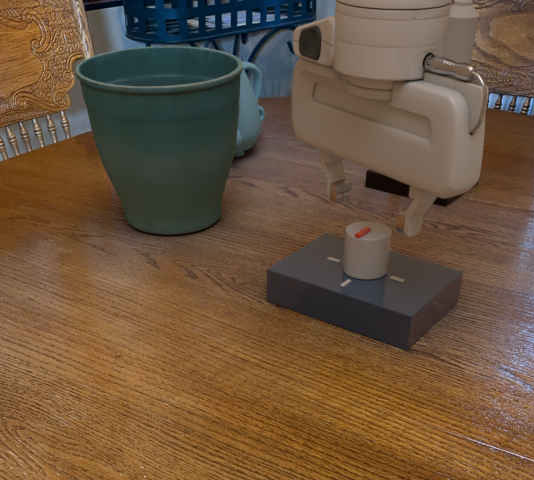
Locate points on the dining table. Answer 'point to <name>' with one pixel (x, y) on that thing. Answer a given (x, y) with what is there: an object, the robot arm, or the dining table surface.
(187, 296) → the dining table surface
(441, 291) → the panel
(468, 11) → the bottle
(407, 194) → the box
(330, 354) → the dining table surface
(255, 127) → the decorative pot
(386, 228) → the tap knob
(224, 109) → the flower pot
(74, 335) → the dining table surface
